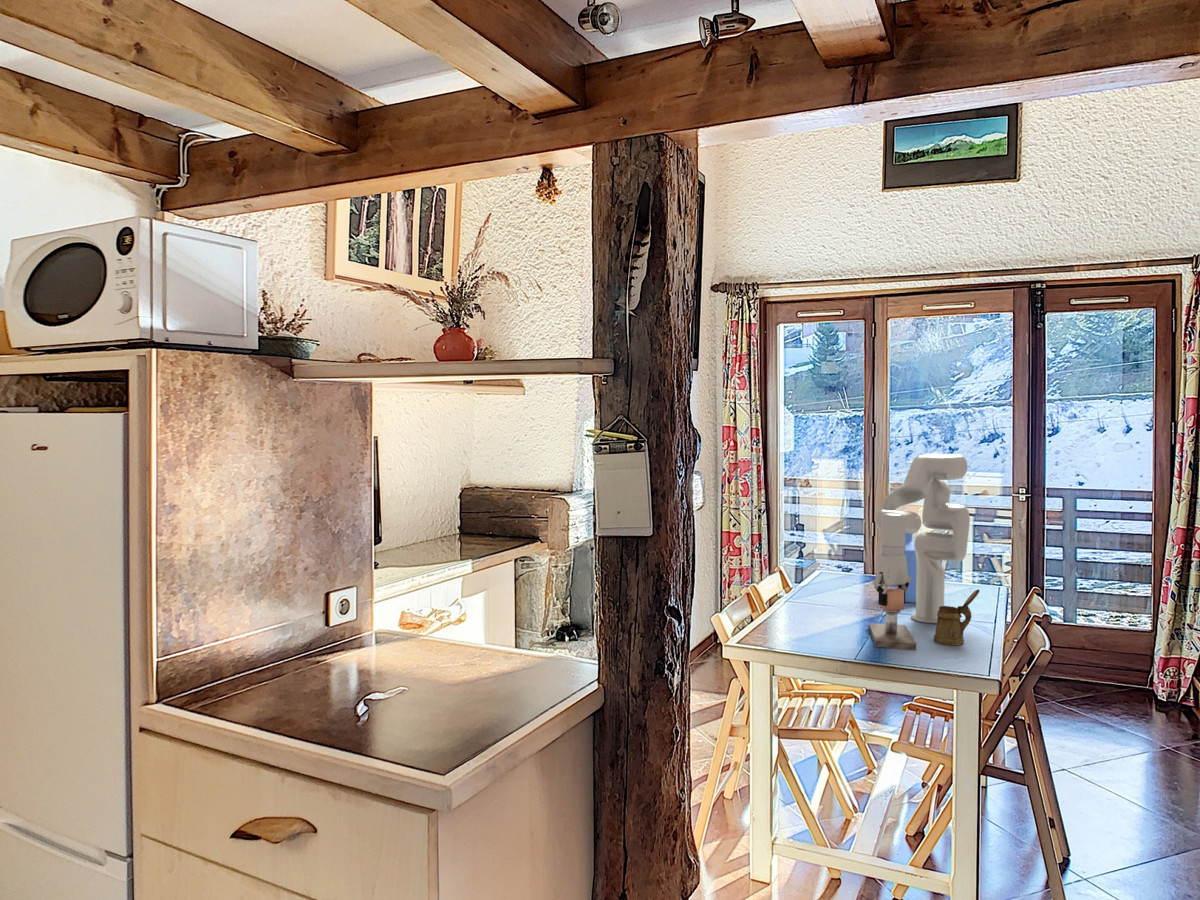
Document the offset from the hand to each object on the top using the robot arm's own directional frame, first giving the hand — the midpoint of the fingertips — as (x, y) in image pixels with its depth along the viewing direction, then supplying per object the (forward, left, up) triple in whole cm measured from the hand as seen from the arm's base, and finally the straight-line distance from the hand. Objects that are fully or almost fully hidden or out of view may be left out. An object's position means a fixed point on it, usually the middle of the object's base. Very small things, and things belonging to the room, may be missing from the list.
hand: (891, 603), depth 276 cm
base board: (0, 0, -12) cm, 12 cm away
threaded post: (0, 0, -10) cm, 10 cm away
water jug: (-14, -66, -12) cm, 69 cm away
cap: (0, 0, -1) cm, 1 cm away
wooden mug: (-20, 0, -12) cm, 23 cm away
